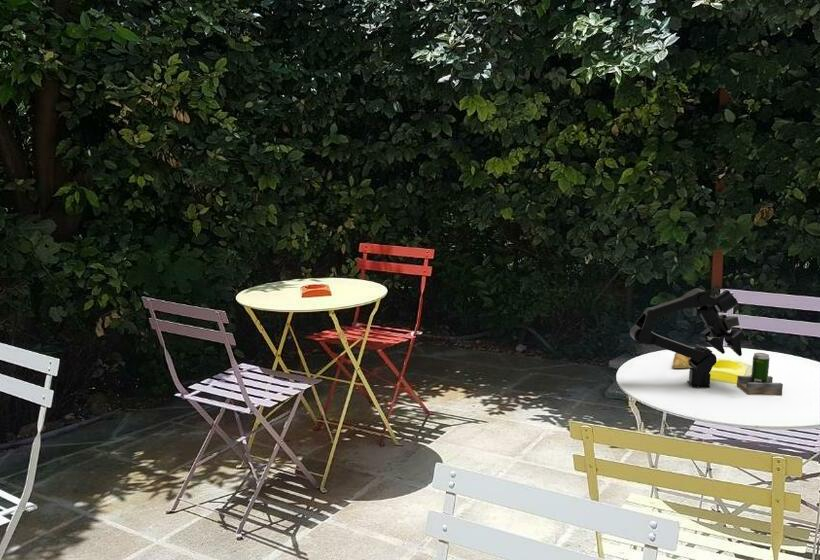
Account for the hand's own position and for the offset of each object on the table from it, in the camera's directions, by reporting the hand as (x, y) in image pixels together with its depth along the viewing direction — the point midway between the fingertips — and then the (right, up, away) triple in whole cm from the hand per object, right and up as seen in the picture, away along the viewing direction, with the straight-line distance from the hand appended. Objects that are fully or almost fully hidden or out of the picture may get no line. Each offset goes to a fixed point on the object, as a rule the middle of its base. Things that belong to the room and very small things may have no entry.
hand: (732, 354), depth 268 cm
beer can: (+8, -11, -4) cm, 15 cm away
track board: (+8, -13, -4) cm, 16 cm away
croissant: (-6, -8, +30) cm, 31 cm away
